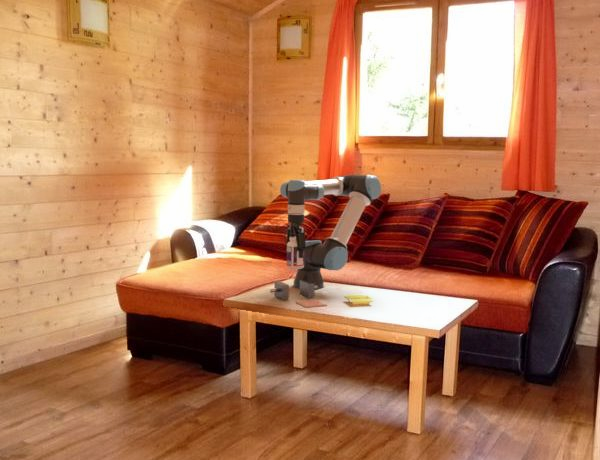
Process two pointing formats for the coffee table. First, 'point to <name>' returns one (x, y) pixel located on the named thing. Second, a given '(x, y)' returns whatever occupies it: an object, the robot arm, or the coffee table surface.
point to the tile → (311, 303)
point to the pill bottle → (293, 254)
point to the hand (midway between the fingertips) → (295, 263)
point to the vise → (283, 290)
